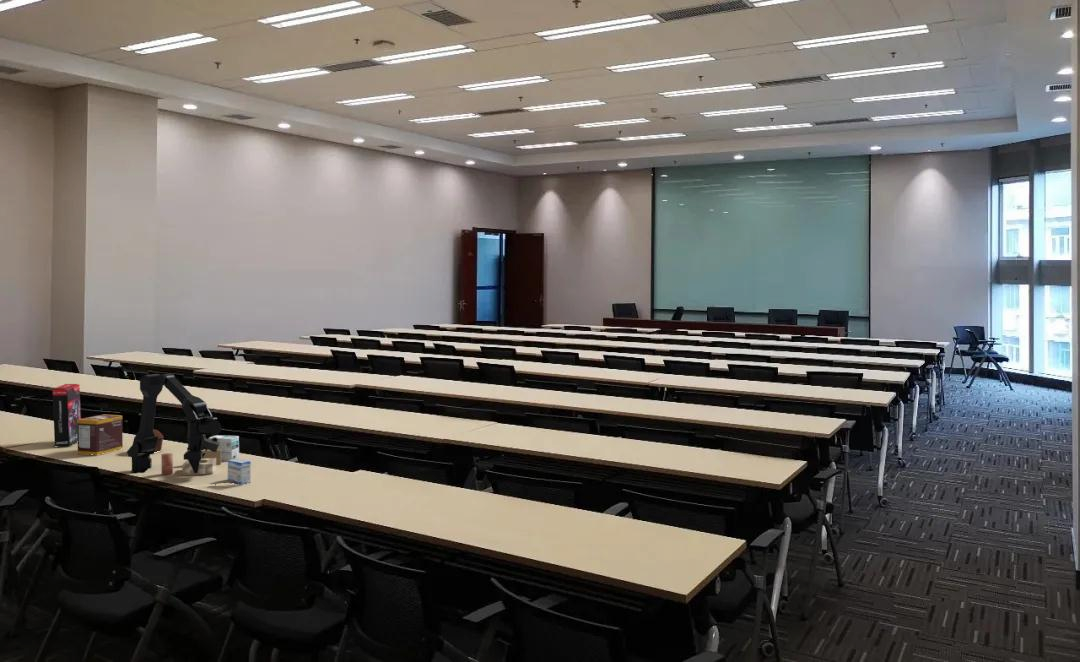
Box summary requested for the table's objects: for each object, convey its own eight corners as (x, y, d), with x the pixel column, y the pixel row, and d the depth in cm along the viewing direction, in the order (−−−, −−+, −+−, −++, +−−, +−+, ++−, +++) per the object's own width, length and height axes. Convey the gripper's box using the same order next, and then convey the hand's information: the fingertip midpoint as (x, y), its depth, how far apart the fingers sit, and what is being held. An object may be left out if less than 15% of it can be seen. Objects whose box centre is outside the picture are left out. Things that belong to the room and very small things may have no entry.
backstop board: (179, 478, 312) (179, 460, 311) (187, 467, 331) (187, 450, 331) (214, 477, 315) (214, 459, 315) (221, 466, 334) (221, 449, 334)
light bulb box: (239, 460, 346) (239, 435, 345) (232, 463, 339) (232, 438, 339) (216, 459, 347) (215, 434, 346) (208, 462, 340) (207, 437, 340)
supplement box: (123, 449, 364) (123, 415, 363) (96, 456, 349) (96, 420, 348) (104, 447, 366) (103, 413, 366) (77, 454, 352) (76, 419, 351)
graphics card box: (69, 447, 366) (68, 388, 364) (52, 447, 364) (51, 388, 362) (81, 440, 382) (81, 383, 381) (65, 440, 381) (64, 383, 379)
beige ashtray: (182, 475, 313) (182, 465, 313) (187, 468, 324) (187, 459, 323) (212, 474, 316) (212, 463, 316) (216, 467, 326) (216, 458, 326)
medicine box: (227, 482, 307) (227, 460, 306) (236, 480, 311) (236, 458, 310) (241, 485, 303) (241, 462, 303) (251, 483, 307) (251, 460, 307)
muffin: (134, 450, 361) (134, 428, 361) (161, 448, 367) (161, 426, 367) (138, 455, 351) (137, 433, 351) (165, 453, 357) (165, 430, 357)
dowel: (160, 478, 312) (160, 455, 311) (162, 475, 316) (162, 453, 315) (171, 477, 313) (171, 455, 312) (173, 475, 317) (173, 453, 316)
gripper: (215, 437, 304) (215, 477, 305) (221, 428, 322) (221, 466, 323) (183, 438, 301) (183, 479, 302) (191, 429, 319) (191, 467, 320)
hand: (196, 472), depth 312 cm, fingers closed
